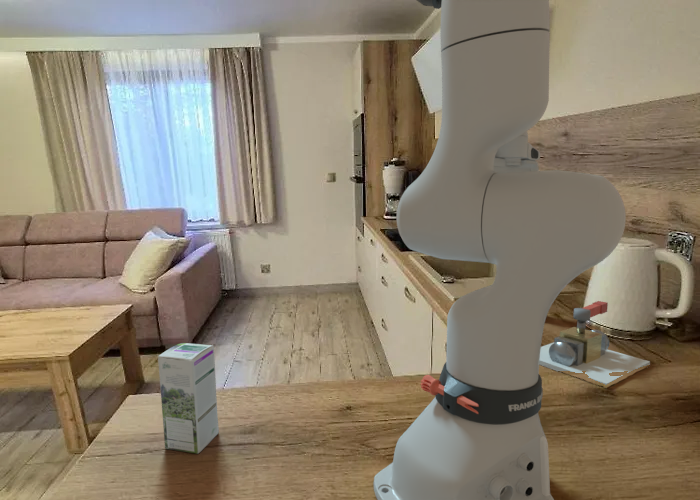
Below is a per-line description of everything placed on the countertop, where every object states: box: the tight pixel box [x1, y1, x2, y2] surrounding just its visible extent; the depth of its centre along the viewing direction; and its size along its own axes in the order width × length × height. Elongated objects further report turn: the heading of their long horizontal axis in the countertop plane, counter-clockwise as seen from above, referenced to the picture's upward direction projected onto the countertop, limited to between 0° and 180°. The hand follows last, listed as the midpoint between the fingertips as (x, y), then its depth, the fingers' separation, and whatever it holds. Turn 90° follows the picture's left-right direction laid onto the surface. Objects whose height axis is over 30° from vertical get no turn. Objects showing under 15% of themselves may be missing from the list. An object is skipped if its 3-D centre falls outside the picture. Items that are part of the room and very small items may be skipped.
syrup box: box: [157, 342, 220, 455], centre depth 59 cm, size 6×6×14 cm
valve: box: [549, 320, 610, 366], centre depth 88 cm, size 15×6×9 cm, turn 123°
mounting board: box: [539, 342, 651, 385], centre depth 88 cm, size 19×18×1 cm
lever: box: [572, 300, 609, 322], centre depth 90 cm, size 3×12×2 cm, turn 127°
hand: (504, 212), depth 93 cm, fingers closed
